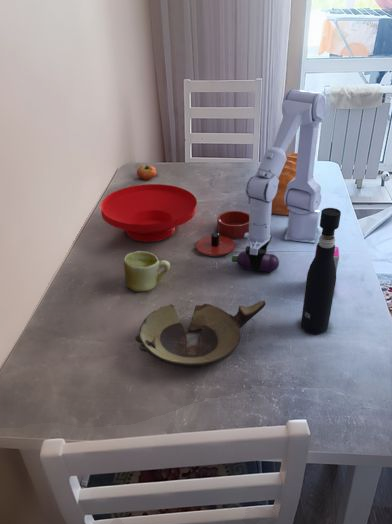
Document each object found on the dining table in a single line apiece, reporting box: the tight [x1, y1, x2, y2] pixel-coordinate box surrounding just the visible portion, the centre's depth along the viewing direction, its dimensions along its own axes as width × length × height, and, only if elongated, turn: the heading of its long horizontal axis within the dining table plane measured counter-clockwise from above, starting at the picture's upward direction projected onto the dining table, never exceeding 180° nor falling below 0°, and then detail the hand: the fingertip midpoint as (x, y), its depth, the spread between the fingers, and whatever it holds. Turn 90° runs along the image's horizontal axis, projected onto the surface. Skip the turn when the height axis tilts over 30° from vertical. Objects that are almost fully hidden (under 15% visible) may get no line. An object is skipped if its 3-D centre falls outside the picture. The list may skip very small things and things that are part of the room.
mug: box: [123, 250, 171, 292], centre depth 131 cm, size 12×10×10 cm
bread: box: [271, 152, 298, 216], centre depth 172 cm, size 16×31×13 cm, turn 165°
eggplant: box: [231, 250, 280, 273], centre depth 136 cm, size 13×5×5 cm, turn 73°
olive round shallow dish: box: [134, 300, 267, 368], centre depth 110 cm, size 22×30×8 cm
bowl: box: [100, 183, 198, 243], centre depth 156 cm, size 30×30×10 cm
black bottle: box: [300, 207, 342, 336], centre depth 107 cm, size 6×6×30 cm
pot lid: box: [195, 232, 236, 257], centre depth 147 cm, size 12×12×4 cm
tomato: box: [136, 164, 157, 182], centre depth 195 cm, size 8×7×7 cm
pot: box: [216, 210, 249, 240], centre depth 156 cm, size 11×11×4 cm
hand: (257, 264), depth 137 cm, fingers closed on eggplant, 5 cm apart
